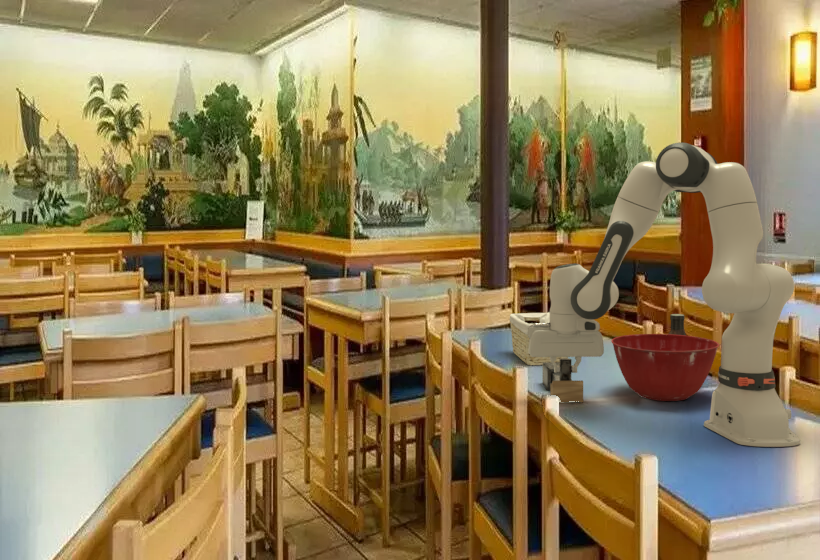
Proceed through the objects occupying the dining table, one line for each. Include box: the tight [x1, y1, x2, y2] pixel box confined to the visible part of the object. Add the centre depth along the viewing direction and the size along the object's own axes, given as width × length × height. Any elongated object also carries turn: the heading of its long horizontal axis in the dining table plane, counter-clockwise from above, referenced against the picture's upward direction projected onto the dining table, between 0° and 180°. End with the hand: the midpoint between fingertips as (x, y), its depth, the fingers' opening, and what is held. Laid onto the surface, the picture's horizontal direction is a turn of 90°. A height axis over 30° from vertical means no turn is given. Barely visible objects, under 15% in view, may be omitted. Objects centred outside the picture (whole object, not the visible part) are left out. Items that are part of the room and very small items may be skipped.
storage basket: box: [509, 311, 569, 366], centre depth 258 cm, size 24×16×15 cm
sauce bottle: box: [667, 313, 687, 336], centre depth 225 cm, size 6×6×20 cm
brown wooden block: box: [550, 380, 584, 403], centre depth 202 cm, size 4×8×6 cm, turn 88°
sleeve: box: [542, 362, 560, 391], centre depth 219 cm, size 9×7×6 cm
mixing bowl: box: [610, 333, 720, 402], centre depth 207 cm, size 28×28×15 cm
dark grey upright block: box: [552, 357, 573, 381], centre depth 208 cm, size 12×4×10 cm, turn 178°
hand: (565, 372), depth 204 cm, fingers closed on dark grey upright block, 3 cm apart
